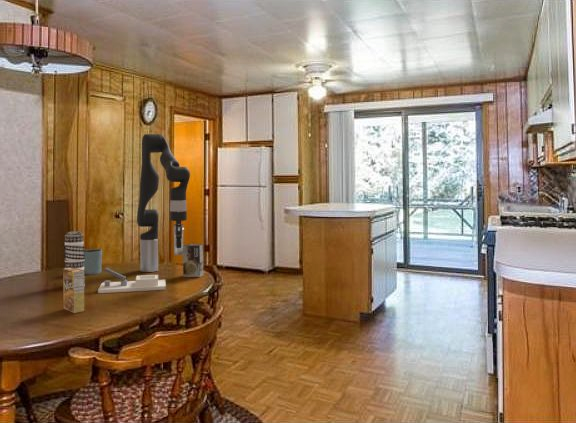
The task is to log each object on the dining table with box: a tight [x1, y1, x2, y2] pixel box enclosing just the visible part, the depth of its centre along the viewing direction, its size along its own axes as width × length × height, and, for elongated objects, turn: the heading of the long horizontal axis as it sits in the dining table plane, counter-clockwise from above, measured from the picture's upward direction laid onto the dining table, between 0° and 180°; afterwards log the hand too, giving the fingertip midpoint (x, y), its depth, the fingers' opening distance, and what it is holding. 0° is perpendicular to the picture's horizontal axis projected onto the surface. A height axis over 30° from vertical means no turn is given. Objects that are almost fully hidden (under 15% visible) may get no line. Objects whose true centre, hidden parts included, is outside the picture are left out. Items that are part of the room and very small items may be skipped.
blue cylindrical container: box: [83, 248, 103, 275], centre depth 242 cm, size 10×10×12 cm
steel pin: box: [172, 227, 185, 256], centre depth 212 cm, size 5×5×12 cm
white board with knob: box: [97, 274, 167, 294], centre depth 208 cm, size 15×28×4 cm, turn 105°
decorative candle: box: [62, 230, 86, 287], centre depth 210 cm, size 9×9×25 cm
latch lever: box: [104, 267, 127, 281], centre depth 205 cm, size 4×10×1 cm, turn 105°
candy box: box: [62, 267, 85, 314], centre depth 170 cm, size 9×4×15 cm, turn 50°
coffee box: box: [182, 243, 204, 278], centre depth 235 cm, size 9×6×16 cm
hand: (178, 247), depth 212 cm, fingers closed on steel pin, 4 cm apart
